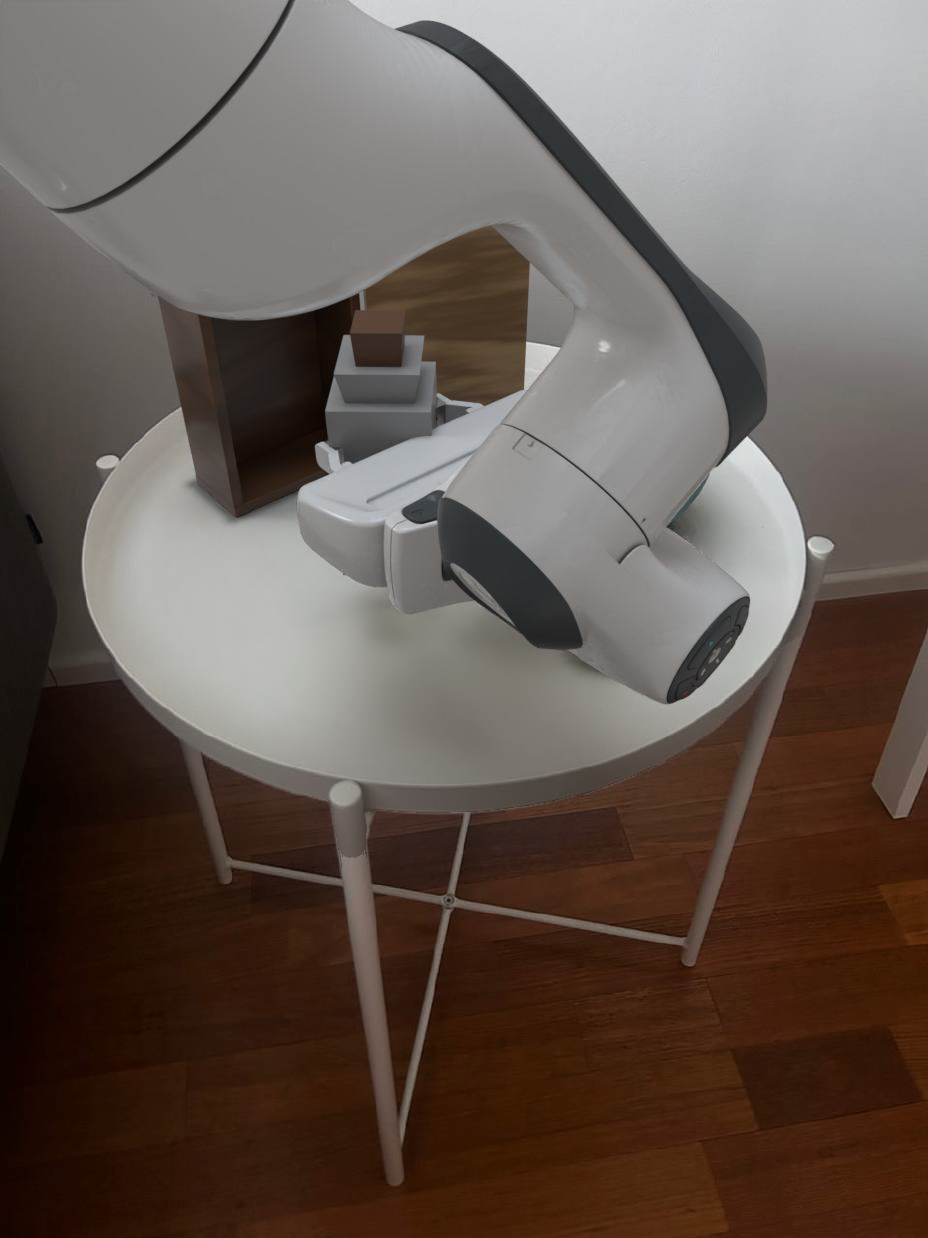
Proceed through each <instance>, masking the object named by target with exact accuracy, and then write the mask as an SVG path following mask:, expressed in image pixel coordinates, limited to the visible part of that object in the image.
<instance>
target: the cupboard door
mask: <svg viewBox="0 0 928 1238" xmlns="http://www.w3.org/2000/svg"><path fill="white" fill-rule="evenodd" d="M530 268H531V263H530V262H529V261H528V260H527V259H526V258H525V257H524V256H523V255H521V254H520V253H519V252H518V251H517V250H516V249H515V248H514V247H513V246H512V245H511V244H510V243H509V242H508V241H507V240H506V239H505V238H504V237H503V236H502V235H501V234H500V233H499V232H498V231H497V230H495V229H494V228H493V227H492V226H491V225H490V226H486V227H482V228H479V229H477V230H474V231H471V232H468V233H466V234H463V235H461V236H458V237H456V238H454V239H452V240H450V241H448V242H446V243H444V244H442V245H440V246H437V247H435V248H433V249H432V250H430V251H428V252H426V253H424V254H423V255H421V256H419V257H417V258H416V259H414V260H412V261H410V262H409V263H407V264H406V265H404V266H402V267H401V268H399V269H397V270H396V271H394V272H393V273H391V274H389V275H388V276H386V277H385V278H383V279H382V280H380V281H379V282H377V283H376V284H374V285H372V286H371V287H369V288H367V289H365V290H363V291H362V293H363V294H362V295H363V307H364V309H363V310H396V311H406V314H405V335H416V336H424V343H423V351H422V359H421V362H436V386H437V393H439V394H441V395H443V396H444V397H446V398H448V399H449V400H451V401H453V400H454V401H463V402H472V403H480V404H482V405H483V406H486V405H489V404H491V403H493V402H495V401H498V400H500V399H502V398H505V397H507V396H509V395H511V394H514V393H516V392H518V391H521V390H525V380H526V378H525V377H526V357H527V356H526V355H527V336H528V335H527V334H528V333H527V332H528V315H529V314H528V313H529V312H528V311H529V290H530Z"/></svg>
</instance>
